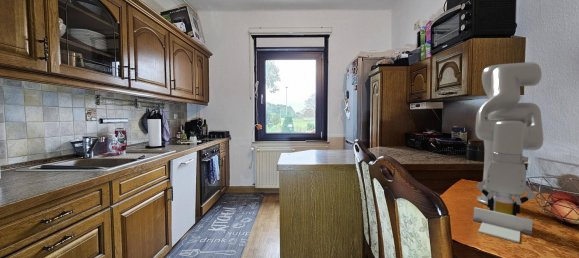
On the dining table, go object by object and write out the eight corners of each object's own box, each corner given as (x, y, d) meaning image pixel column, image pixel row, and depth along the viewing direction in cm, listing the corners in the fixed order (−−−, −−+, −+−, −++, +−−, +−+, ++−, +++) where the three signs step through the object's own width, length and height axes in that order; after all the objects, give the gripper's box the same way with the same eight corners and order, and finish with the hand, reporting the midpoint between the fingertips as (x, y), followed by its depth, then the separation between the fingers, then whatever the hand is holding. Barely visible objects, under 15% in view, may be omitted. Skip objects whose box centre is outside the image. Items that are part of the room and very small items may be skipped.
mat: (482, 223, 82) (482, 222, 82) (520, 232, 76) (520, 231, 76) (478, 232, 75) (478, 230, 75) (519, 242, 69) (519, 241, 69)
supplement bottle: (517, 223, 82) (519, 194, 81) (497, 222, 83) (500, 192, 82) (506, 217, 87) (508, 189, 87) (488, 215, 88) (490, 188, 88)
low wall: (474, 218, 86) (475, 206, 86) (531, 231, 76) (532, 218, 76) (472, 220, 84) (473, 208, 84) (531, 234, 74) (532, 221, 74)
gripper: (542, 161, 81) (538, 217, 82) (476, 154, 93) (473, 203, 94) (543, 163, 75) (539, 224, 76) (473, 156, 87) (469, 208, 88)
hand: (502, 212), depth 85 cm, fingers closed on supplement bottle, 5 cm apart
